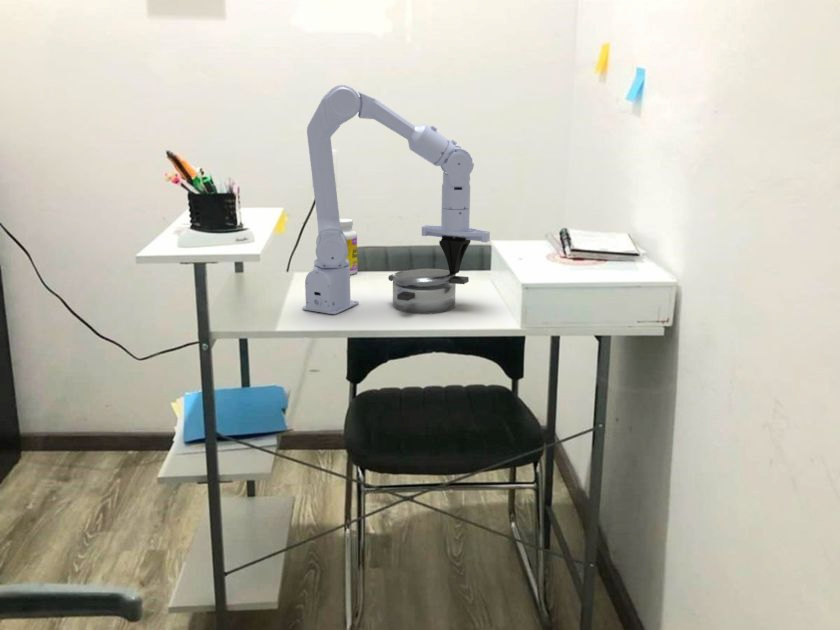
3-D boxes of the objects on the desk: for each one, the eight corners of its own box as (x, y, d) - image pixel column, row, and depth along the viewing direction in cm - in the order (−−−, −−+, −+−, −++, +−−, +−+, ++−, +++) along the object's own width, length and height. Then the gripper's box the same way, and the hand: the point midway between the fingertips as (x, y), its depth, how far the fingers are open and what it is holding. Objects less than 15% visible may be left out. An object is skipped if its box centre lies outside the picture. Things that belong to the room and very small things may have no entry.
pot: (431, 320, 158) (432, 296, 157) (374, 311, 164) (374, 288, 163) (470, 298, 174) (471, 276, 173) (417, 291, 180) (417, 269, 179)
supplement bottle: (356, 276, 193) (355, 222, 189) (328, 276, 193) (327, 222, 189) (358, 269, 199) (358, 217, 196) (331, 269, 199) (330, 217, 196)
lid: (452, 290, 158) (452, 284, 158) (378, 285, 165) (378, 279, 165) (479, 276, 169) (478, 271, 169) (408, 271, 177) (408, 266, 176)
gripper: (496, 207, 165) (494, 272, 169) (432, 202, 171) (431, 265, 175) (482, 212, 159) (480, 280, 163) (417, 206, 165) (416, 271, 169)
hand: (454, 272), depth 169 cm, fingers closed, pressing on lid
